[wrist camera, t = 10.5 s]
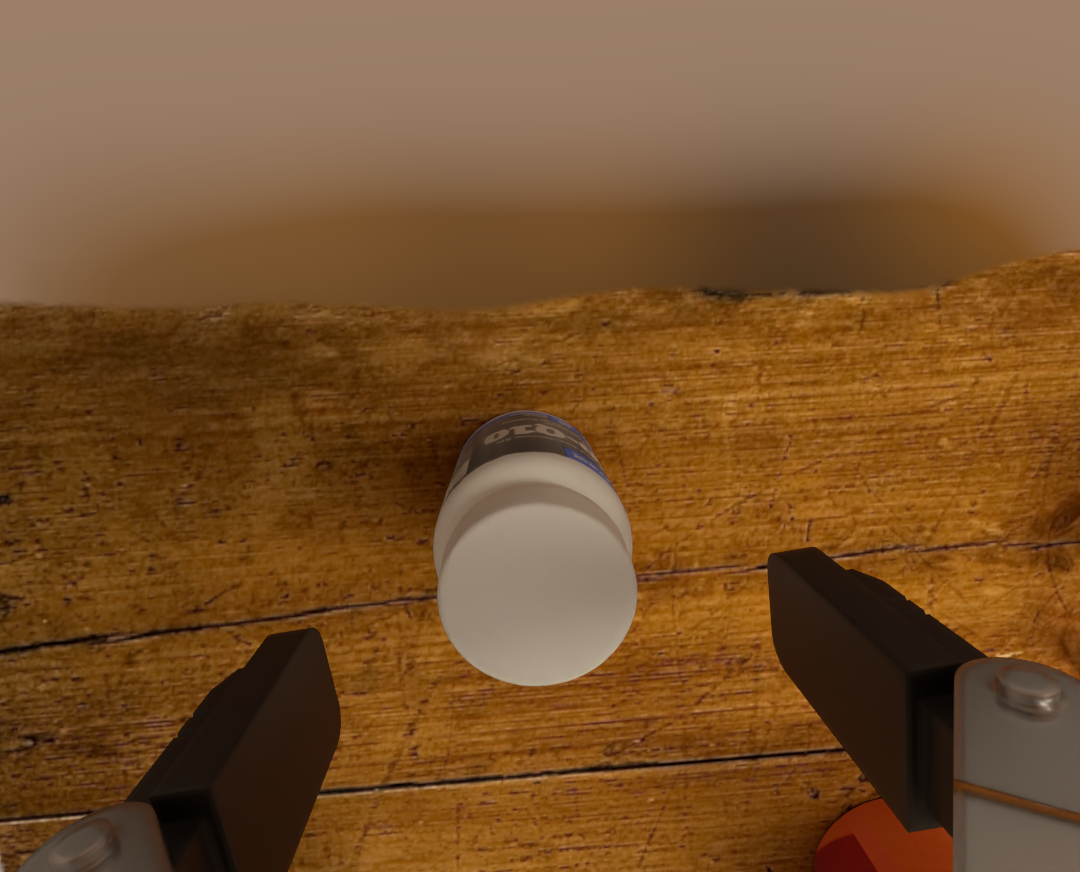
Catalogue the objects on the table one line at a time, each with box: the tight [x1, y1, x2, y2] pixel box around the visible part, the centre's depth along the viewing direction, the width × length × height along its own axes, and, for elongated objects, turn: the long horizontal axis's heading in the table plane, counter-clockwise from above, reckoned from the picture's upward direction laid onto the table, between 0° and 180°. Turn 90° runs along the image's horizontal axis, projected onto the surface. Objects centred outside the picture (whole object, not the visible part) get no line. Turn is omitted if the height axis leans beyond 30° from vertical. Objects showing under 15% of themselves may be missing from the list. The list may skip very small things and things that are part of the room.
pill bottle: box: [433, 410, 637, 686], centre depth 16 cm, size 5×5×8 cm
